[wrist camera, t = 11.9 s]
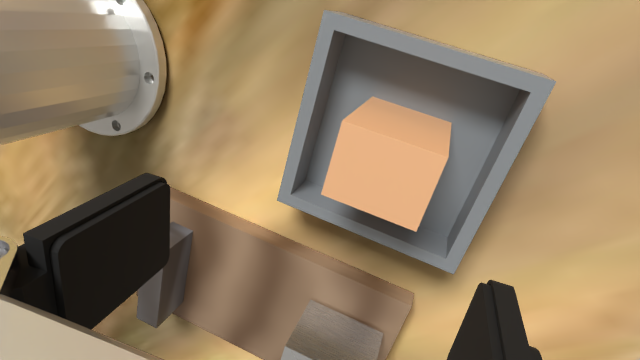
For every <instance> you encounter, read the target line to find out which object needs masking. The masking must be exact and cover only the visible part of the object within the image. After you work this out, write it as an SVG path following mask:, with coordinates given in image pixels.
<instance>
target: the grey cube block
mask: <svg viewBox="0 0 640 360" xmlns="http://www.w3.org/2000/svg"><path fill="white" fill-rule="evenodd" d="M382 337H383V333H382V332H380V331H378V330H375V329H373V328H371V327H369V326H367V325H365V324H362V323H360V322H358V321H356V320H354V319H352V318H349V317H347V316H345V315H343V314H341V313H339V312H336V311H334V310H332V309H330V308H328V307H326V306H324V305H321V304H319V303H317V302H315V301H313V300H310V301H309V303H308V305H307V307H306V309H305V311H304V312H303V314H302V316H301V318H300V320H299V322H298V323H297V325H296V327H295V329H294V331H293V332H292V334H291V336H290V338H289V340H288V342H287V343H286V345H285V348H284V351H283V354H282V357H281V360H377V357H378V353H379V349H380V345H381V341H382Z"/></svg>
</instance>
